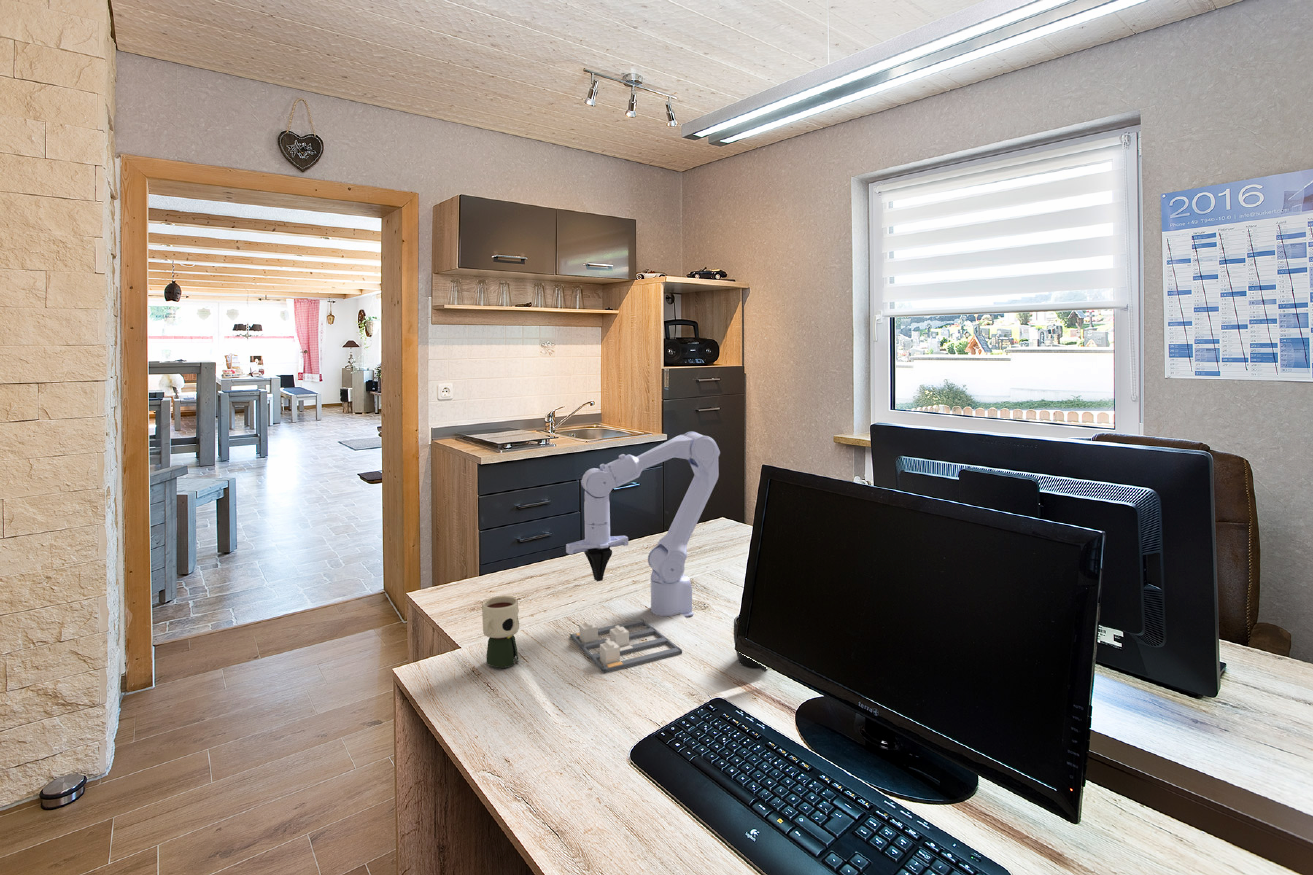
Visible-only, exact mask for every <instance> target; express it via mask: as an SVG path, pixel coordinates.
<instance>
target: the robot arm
mask: <svg viewBox="0 0 1313 875" xmlns="http://www.w3.org/2000/svg"><path fill="white" fill-rule="evenodd" d="M720 455H721V451H720V449H719V446H718V444H717V442H716V441H715V439H713V438H712V437H710V436H708V435H703V434H700V433H698V432H696V431H687V432H686V433H683V434H679V435H677V436H675V437H672V438H671V439H669V440H667V441H665V442H663V443H661V444H658V445H657V446H655V447H652V448H651V449H649V450H647V451H646V452H643V453H641V454H639V455H637V456H635V455H632V454H630V453H629V454H624V453H622V454H619V455H618V458H617V459H615V460H613V461H611V462H608V463H606V464H605V463H601V464H600V465H599V468H597V467H596V468H595V467H593V468H589V469H588V470H586V471H585V472H584V474H583V476H582V477H581V478H582V479H581V480H580V483H581V484H580V485H581V488H583V490H584V497H583V498H584V504H583V505H584V507H583V510H584V511H583V512H584V514H583V515H584V518H583V519H584V539H582V540H578V541H574V542H570V543H567V544H565V550H566V551H565V553H566V554H568V555H574V554H576V553H582V552H583V553H584V554H585V557H586V558H587V561H588V563H589V566H590V568H591V572H592V576H593V579H594V581H596V582H603V580H604V576H605V573H606V572H605V571H606V568H607V565H608V563H609V561H610V559H611V557H612V556H613V550H612V549H611V548H614V547H620V546H624V547H627V546H629V537H628V536H627V535H614V536H613V535H612V536H611V518H610V517H611V514H610V512H611V511H610V510H611V509H610V504H611V502H610V494H611V493H612V492H611V491H612V490H613V489H615V488H618V487H620V486H622V485H625V484H627V483H629V482H632V481H634V480H636V479H638V478H640V476H641V473H642V472H643V470H645V469H648V468H650V467H654V466H656V465H658V464H660V463H663V462H667V461H668V460H670V459H672V458H678V459H681V460H682V459H683V460H686V461H687V462H688V463H689V465H690V467H691V470H692V472H693V474H694V475H693V478H692V480H691V482H690V484H689V487H688V489H687V490H686V493H685V495H684V497H683V500H682V501H681V503H680V506H679V507H678V509H677V512H676V514H675V517H674V518H673V521H672V522H671V524H670V526H669V529H668V531H667V532H666V534H665V535H664V536H662V537H661V538H660V539H659V540H658V542H657V543H656V546H654V547H653V548H652V549H651V550H650V552H649V553H648V555H647V563H648V565H649V567H650V569H652V570H651V574H650V612H651V613H652V614H654V615H656V616H661V617H671V616H676V615H679V614H681V616H682V615H683V617H690V616H694V615H695V613H694V612H693V587H692V586H693V585H692V581H691V579H690V578H689V576H687V575H686V574H684V572H685V564H686V560H687V558H688V547H687V545H688V543H689V541H690V539H691V536H692V535H693V532H694V531H695V528H696V526H697V524H698V522H699V520H700V518H701V515H702V513H703V511H704V509H705V507H706V505H707V503H708V500H709V499H710V497H711V494H712V492H713V490H714V488H715V485H716V484H717V483H718V479H719V476H720V473H719V457H720Z"/></svg>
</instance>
